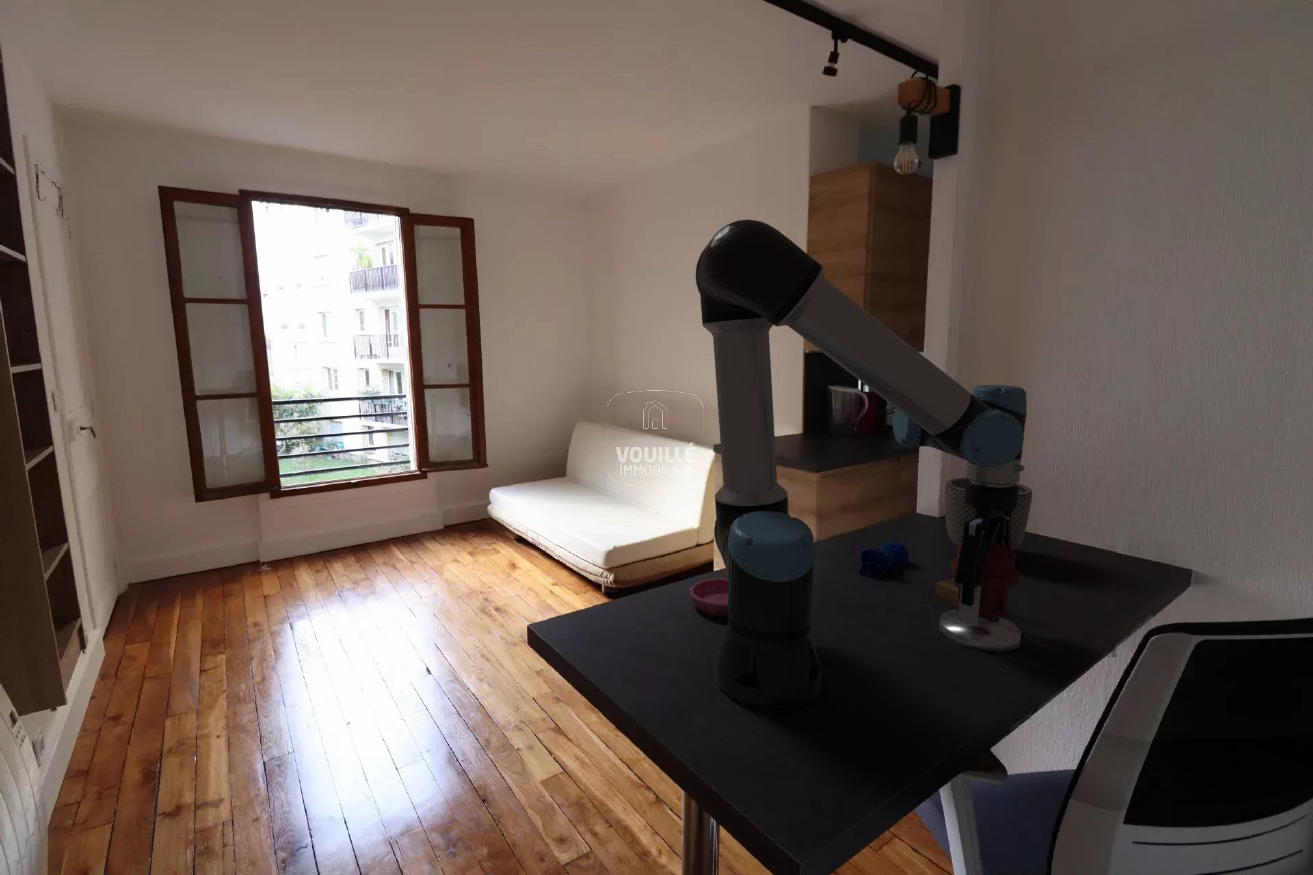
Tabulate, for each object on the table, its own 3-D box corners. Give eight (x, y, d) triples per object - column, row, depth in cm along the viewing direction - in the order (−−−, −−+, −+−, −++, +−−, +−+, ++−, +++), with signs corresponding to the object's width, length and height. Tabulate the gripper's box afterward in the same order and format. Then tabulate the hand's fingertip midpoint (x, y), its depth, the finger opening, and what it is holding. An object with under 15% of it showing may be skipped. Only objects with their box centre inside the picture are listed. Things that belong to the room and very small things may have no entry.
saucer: (679, 597, 117) (680, 581, 116) (738, 589, 121) (739, 574, 120) (705, 625, 105) (705, 608, 105) (769, 615, 109) (770, 599, 109)
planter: (1042, 567, 132) (1050, 495, 129) (962, 567, 132) (968, 495, 129) (999, 541, 149) (1005, 477, 146) (928, 541, 149) (932, 476, 146)
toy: (885, 584, 124) (914, 562, 135) (886, 555, 123) (916, 536, 134) (853, 576, 129) (884, 555, 140) (854, 548, 128) (885, 529, 138)
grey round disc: (973, 655, 95) (974, 646, 95) (923, 621, 107) (924, 613, 106) (1038, 646, 98) (1039, 638, 98) (982, 614, 109) (983, 606, 109)
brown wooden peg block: (963, 609, 111) (968, 552, 109) (934, 597, 116) (939, 542, 115) (984, 603, 114) (989, 546, 112) (955, 591, 119) (960, 537, 117)
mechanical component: (980, 598, 108) (1030, 623, 98) (934, 605, 105) (980, 631, 95) (986, 531, 106) (1037, 549, 96) (939, 536, 103) (987, 556, 94)
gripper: (990, 498, 88) (977, 643, 91) (1041, 475, 103) (1029, 600, 106) (937, 489, 93) (927, 626, 97) (993, 468, 108) (983, 587, 112)
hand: (980, 612), depth 102 cm, fingers closed on mechanical component, 10 cm apart
